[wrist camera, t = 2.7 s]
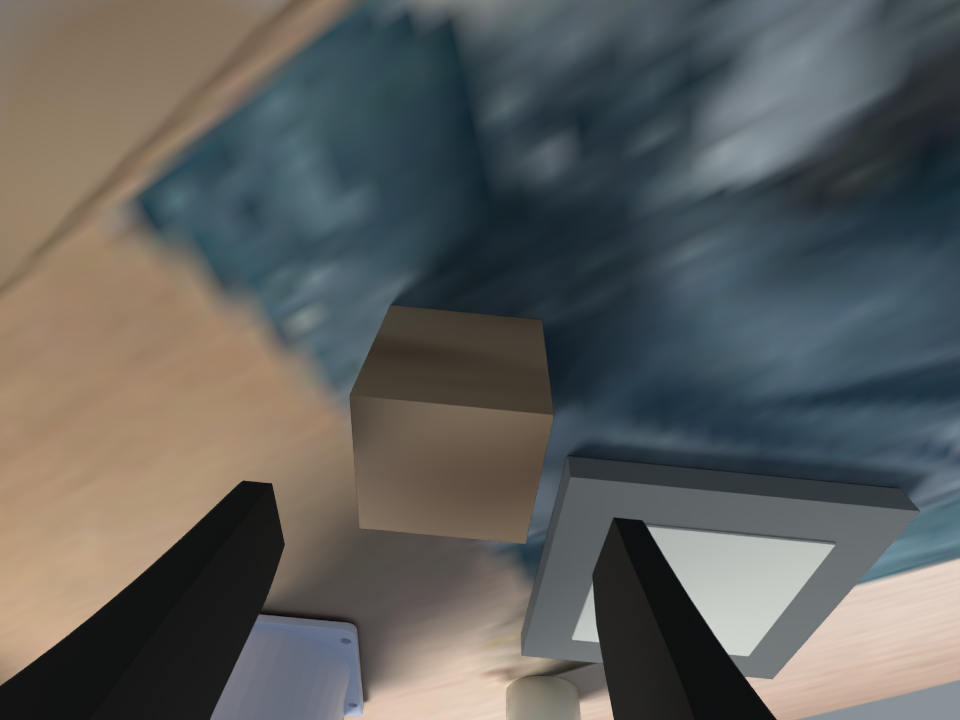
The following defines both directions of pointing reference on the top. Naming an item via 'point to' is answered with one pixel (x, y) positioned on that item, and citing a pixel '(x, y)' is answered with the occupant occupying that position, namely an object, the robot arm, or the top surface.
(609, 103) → the top surface
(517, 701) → the white capsule cylinder
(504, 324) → the walnut block
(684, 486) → the mat
